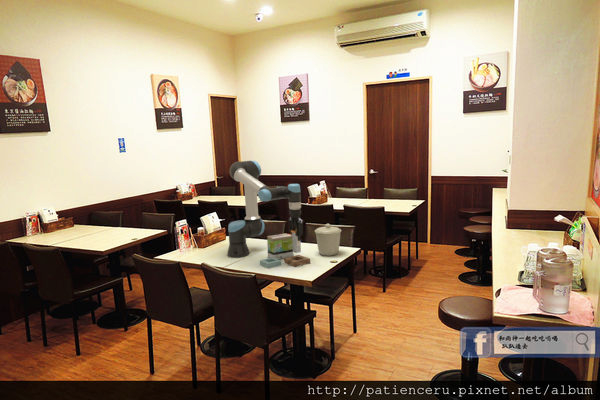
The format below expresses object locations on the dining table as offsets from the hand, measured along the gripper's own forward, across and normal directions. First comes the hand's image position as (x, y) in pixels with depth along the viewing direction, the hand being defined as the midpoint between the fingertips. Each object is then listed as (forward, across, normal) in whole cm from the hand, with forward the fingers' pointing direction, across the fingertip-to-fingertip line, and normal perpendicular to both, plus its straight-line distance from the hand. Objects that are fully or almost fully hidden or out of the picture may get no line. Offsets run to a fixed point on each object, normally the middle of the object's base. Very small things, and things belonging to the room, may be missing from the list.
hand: (296, 244), depth 254 cm
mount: (+12, -8, -15) cm, 21 cm away
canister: (+12, -2, +28) cm, 31 cm away
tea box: (+12, -19, 0) cm, 23 cm away
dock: (+12, 0, 0) cm, 12 cm away
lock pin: (+5, 0, 0) cm, 5 cm away
